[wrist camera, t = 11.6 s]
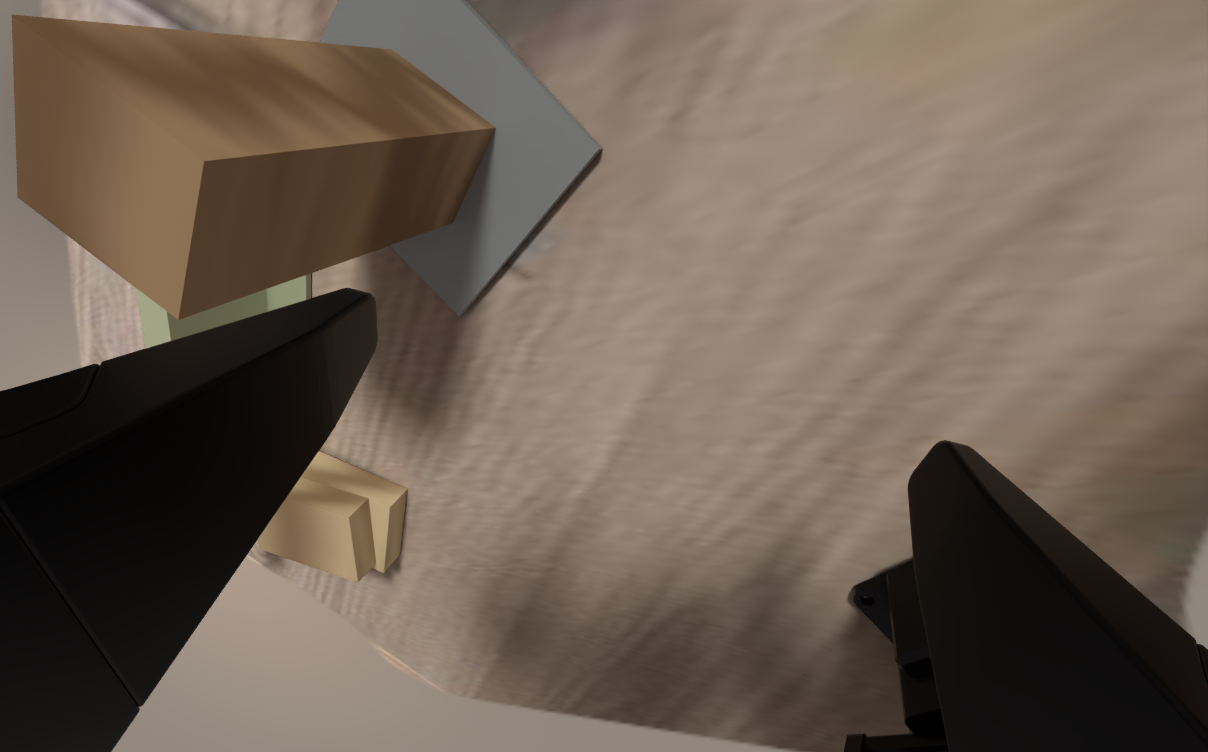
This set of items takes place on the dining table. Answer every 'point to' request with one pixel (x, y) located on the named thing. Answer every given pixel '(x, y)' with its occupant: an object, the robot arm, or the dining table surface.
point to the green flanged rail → (217, 311)
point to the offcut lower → (382, 500)
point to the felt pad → (514, 154)
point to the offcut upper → (323, 530)
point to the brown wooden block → (231, 153)
